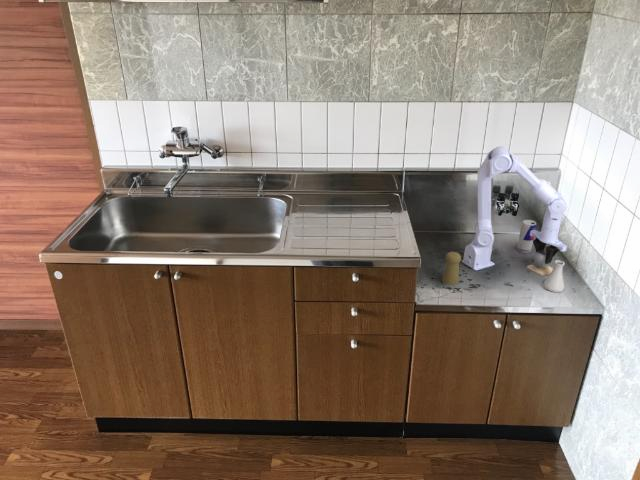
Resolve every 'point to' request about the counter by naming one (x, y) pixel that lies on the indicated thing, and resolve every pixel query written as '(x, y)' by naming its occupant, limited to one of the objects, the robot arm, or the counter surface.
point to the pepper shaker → (451, 269)
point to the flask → (555, 278)
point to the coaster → (541, 270)
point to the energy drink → (526, 236)
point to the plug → (540, 259)
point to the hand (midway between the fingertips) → (543, 260)
